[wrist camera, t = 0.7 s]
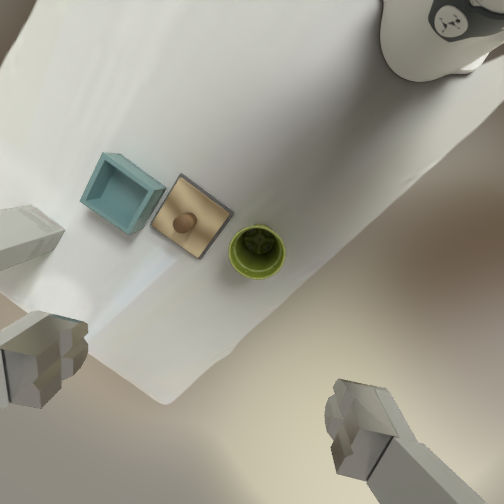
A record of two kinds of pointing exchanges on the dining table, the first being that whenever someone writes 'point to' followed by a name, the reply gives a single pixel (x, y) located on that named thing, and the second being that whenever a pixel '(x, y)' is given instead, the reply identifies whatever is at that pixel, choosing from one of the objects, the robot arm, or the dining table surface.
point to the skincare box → (26, 235)
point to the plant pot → (257, 252)
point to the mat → (208, 197)
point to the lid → (189, 218)
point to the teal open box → (122, 192)
